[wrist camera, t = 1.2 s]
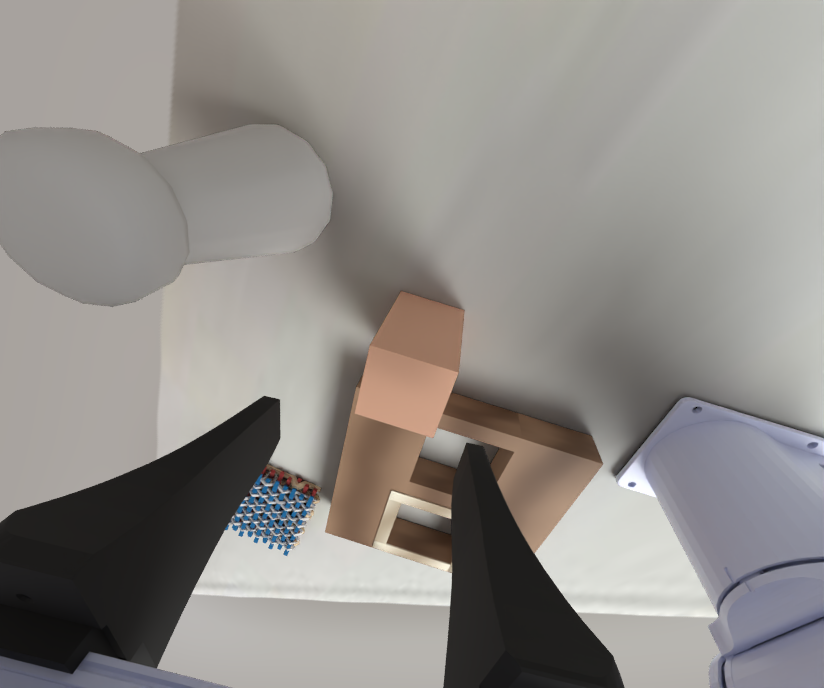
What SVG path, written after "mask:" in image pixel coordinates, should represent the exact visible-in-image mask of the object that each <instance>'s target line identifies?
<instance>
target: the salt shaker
mask: <svg viewBox="0 0 824 688" xmlns="http://www.w3.org/2000/svg"><path fill="white" fill-rule="evenodd" d="M332 199H333V192H332V188H331V184H330V180H329V176H328V172H327V168H326V165H325V164H324V163H323V162H322V160H321V159H320V158H319V156H318V155H317V154H316V152H315V151H314V150H313V148H312V147H311V146H310V144H309V143H308V142H307V141H306V140H304V139H302V138H301V137H299V136H297V135H295V134H294V133H292V132H290V131H289V130H287V129H285V128H284V127H282V126H280V125H278V124H249V125H245V126H241V127H238V128H234V129H230V130H226V131H223V132H219V133H215V134H211V135H207V136H204V137H200V138H196V139H192V140H189V141H185V142H181V143H177V144H173V145H170V146H166V147H162V148H158V149H155V150H151V151H147V152H143V153H138V152H136V151H135V150H133V149H131V148H129V147H127V146H126V145H124V144H122V143H120V142H118V141H117V140H115V139H113V138H111V137H110V136H107V135H105V134H103V133H100V132H98V131H92V130H83V129H76V128H27V129H19V130H11V131H5V132H4V133H3V134H2V135H0V245H1V246H2V247H3V249H4V250H5V252H6V253H7V255H8V256H9V257H10V258H11V259H12V260H13V261H14V262H15V263H16V264H17V265H19V266H20V267H21V268H22V269H23V270H24V271H25V272H26V273H27V274H29V275H30V276H31V277H32V278H33V279H34V280H35V281H37V282H38V283H40V284H42V285H44V286H46V287H48V288H50V289H52V290H54V291H56V292H58V293H60V294H62V295H64V296H66V297H69V298H71V299H73V300H76V301H78V302H81V303H83V304H93V305H101V306H110V307H113V306H118V305H123V304H127V303H132V302H136V301H138V300H140V299H142V298H143V297H146V296H148V295H149V294H151V293H153V292H155V291H157V290H159V289H161V288H163V287H164V286H166V285H168V284H170V283H172V282H174V281H175V279H176V278H177V277H178V276H179V274H180V272H181V270H182V268H183V266H184V265H187V264H195V263H204V262H213V261H222V260H231V259H240V258H249V257H257V256H266V255H275V254H284V253H293V252H296V251H298V250H300V249H302V248H304V247H306V246H308V245H310V244H312V243H314V242H315V241H316V239H317V238H318V237H319V235H320V234H321V232H322V231H323V230H324V228H325V227H326V225H327V224H328V223H329V221H330V218H331V209H332Z"/></svg>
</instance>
